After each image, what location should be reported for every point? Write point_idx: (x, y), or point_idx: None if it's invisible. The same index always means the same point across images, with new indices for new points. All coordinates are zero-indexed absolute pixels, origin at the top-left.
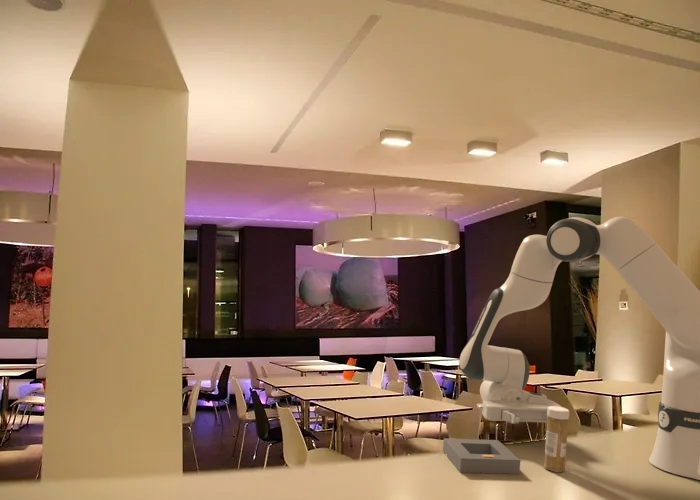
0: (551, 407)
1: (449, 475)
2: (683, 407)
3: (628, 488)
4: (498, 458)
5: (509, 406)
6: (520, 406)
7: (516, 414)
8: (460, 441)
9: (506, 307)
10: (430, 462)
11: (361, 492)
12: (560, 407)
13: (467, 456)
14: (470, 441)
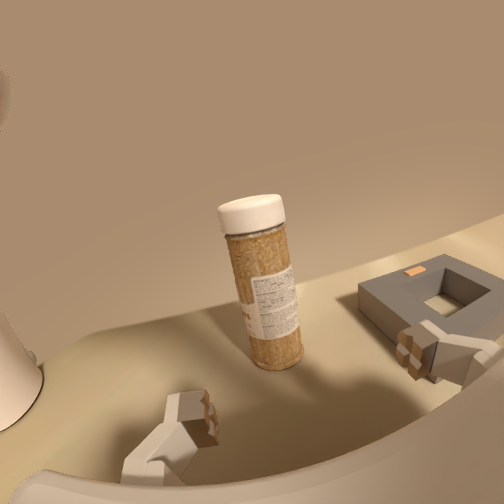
0: (269, 195)
1: None
2: None
3: (168, 327)
4: (396, 273)
5: (499, 376)
6: (434, 435)
7: (422, 344)
8: (497, 296)
9: None
10: None
11: (473, 227)
12: (236, 203)
13: (441, 260)
14: (485, 306)
